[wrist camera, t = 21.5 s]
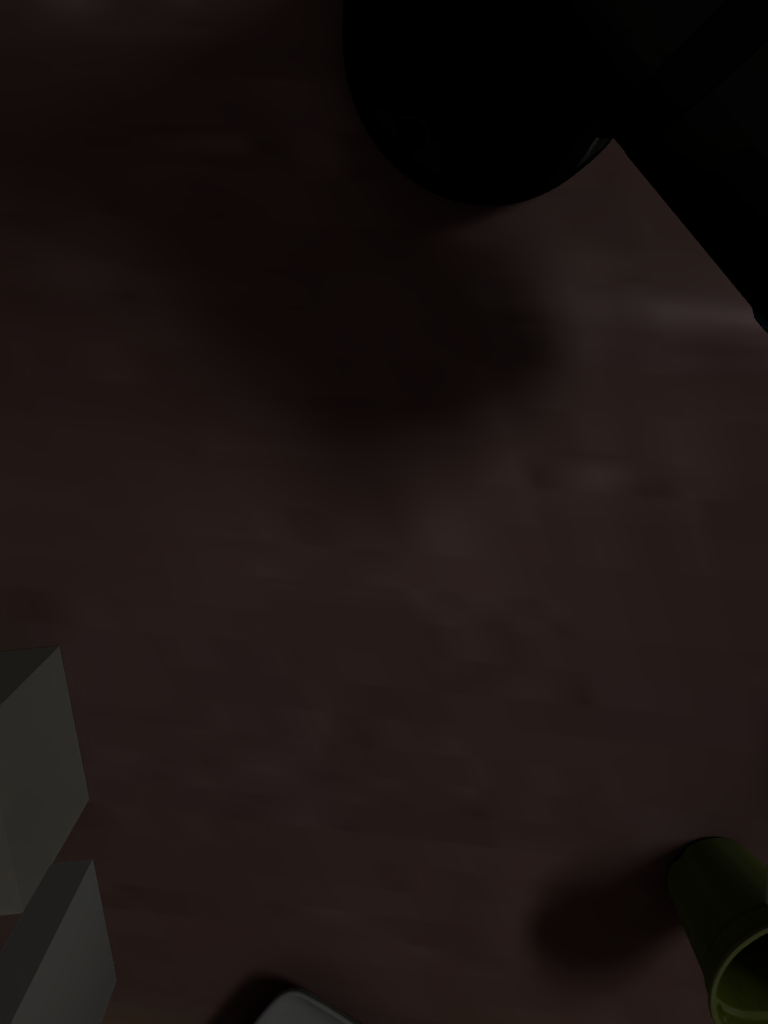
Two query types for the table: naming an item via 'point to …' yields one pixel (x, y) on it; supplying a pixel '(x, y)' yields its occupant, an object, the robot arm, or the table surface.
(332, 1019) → the salad plate
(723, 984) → the plant pot
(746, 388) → the table surface
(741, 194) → the robot arm
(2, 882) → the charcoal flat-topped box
